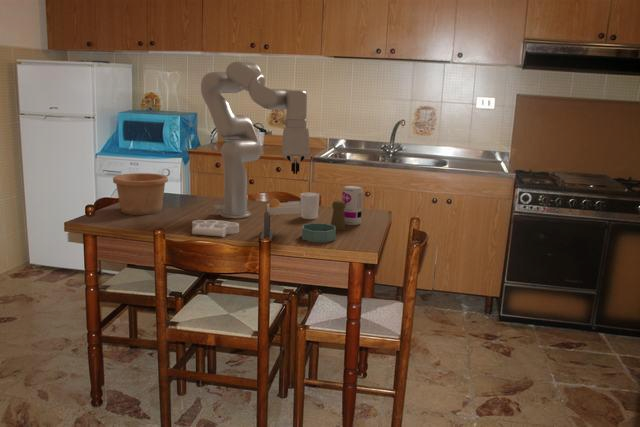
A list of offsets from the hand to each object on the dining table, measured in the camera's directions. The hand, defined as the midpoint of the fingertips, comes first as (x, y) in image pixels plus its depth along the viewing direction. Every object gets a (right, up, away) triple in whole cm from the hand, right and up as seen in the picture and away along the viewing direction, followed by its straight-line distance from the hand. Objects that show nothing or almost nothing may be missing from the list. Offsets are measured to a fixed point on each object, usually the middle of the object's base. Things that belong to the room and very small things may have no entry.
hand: (295, 173), depth 221 cm
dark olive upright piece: (+16, -21, +10) cm, 29 cm away
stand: (-10, -24, -5) cm, 26 cm away
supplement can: (+22, -19, +19) cm, 35 cm away
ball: (-7, -12, -8) cm, 16 cm away
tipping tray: (-4, -13, -2) cm, 14 cm away
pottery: (-66, -14, +28) cm, 73 cm away
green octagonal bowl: (+9, -24, -5) cm, 26 cm away
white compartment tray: (-30, -22, -1) cm, 38 cm away
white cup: (+5, -17, +26) cm, 32 cm away
